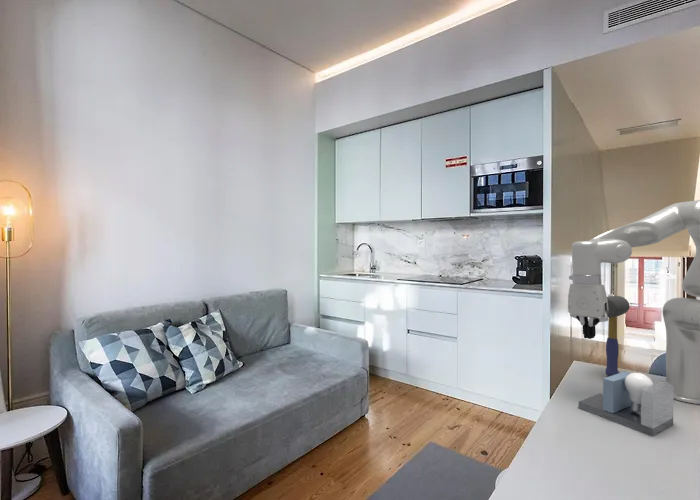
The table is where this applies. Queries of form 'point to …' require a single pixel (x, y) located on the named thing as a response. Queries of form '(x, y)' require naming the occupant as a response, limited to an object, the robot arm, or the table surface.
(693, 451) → the table surface
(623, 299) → the rubber mallet
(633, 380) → the lightbulb
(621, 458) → the table surface
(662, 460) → the table surface
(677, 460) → the table surface
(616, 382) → the vise jaw
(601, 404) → the vise base
